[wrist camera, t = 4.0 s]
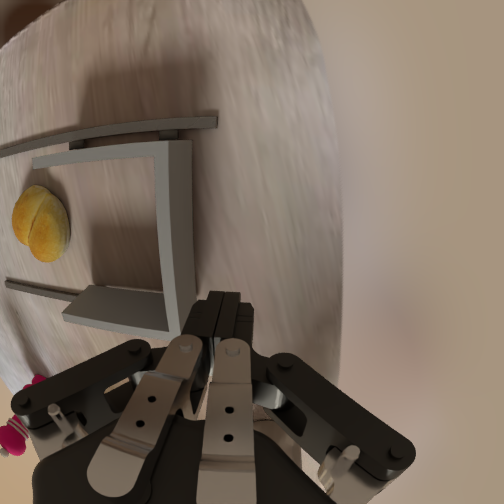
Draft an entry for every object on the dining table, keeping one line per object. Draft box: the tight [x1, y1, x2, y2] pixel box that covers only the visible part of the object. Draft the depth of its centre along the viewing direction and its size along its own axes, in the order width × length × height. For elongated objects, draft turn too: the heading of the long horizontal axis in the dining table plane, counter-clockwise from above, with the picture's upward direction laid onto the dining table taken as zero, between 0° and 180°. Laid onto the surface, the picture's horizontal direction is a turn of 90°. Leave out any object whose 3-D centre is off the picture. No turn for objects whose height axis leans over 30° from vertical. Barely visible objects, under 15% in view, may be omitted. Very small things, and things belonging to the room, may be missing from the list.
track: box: [0, 116, 217, 302], centre depth 26 cm, size 34×20×1 cm, turn 88°
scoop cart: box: [32, 130, 197, 341], centre depth 23 cm, size 13×18×6 cm
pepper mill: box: [0, 375, 46, 457], centre depth 31 cm, size 7×7×20 cm
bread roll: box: [12, 185, 70, 262], centre depth 25 cm, size 8×9×4 cm
